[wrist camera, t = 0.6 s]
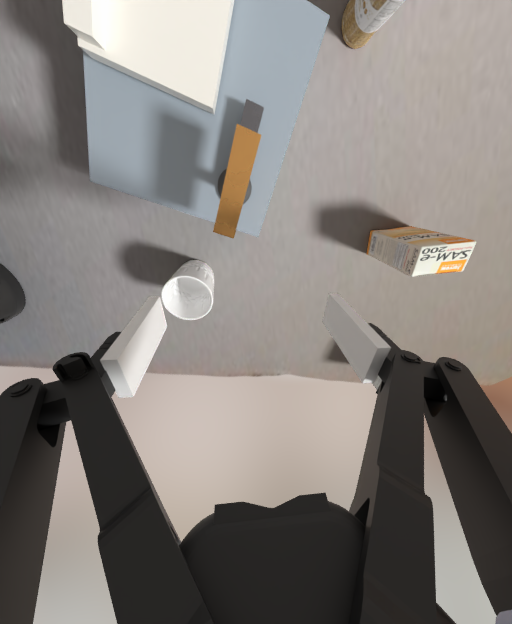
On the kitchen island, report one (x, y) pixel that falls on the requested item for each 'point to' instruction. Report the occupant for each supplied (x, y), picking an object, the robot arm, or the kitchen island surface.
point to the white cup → (189, 291)
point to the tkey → (239, 169)
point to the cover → (158, 42)
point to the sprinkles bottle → (365, 19)
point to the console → (206, 116)
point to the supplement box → (420, 250)
